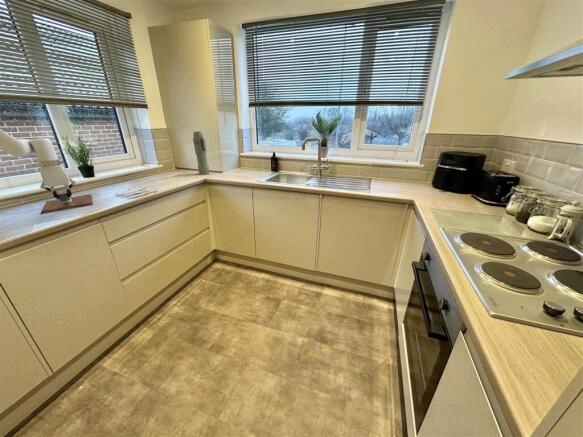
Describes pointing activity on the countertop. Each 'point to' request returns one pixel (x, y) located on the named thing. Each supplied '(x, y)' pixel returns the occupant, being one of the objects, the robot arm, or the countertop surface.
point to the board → (67, 204)
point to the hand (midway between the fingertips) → (64, 197)
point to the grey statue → (201, 153)
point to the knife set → (136, 191)
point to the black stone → (63, 196)
